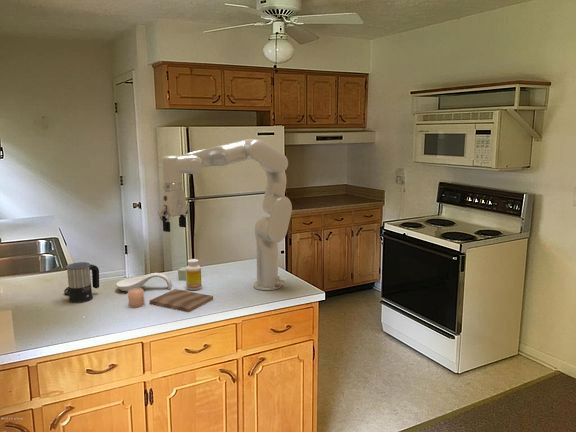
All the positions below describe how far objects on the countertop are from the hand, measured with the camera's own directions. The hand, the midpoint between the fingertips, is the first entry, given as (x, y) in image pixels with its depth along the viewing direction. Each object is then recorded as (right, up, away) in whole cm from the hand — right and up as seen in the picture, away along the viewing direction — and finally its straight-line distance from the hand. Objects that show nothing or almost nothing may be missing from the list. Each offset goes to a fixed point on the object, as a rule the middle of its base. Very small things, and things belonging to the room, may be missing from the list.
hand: (174, 229), depth 195 cm
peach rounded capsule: (-16, -31, +1) cm, 34 cm away
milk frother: (-44, -29, +11) cm, 54 cm away
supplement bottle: (+4, -27, +21) cm, 35 cm away
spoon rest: (-18, -28, +20) cm, 39 cm away
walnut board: (+2, -30, +5) cm, 30 cm away
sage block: (-3, -25, +35) cm, 42 cm away
